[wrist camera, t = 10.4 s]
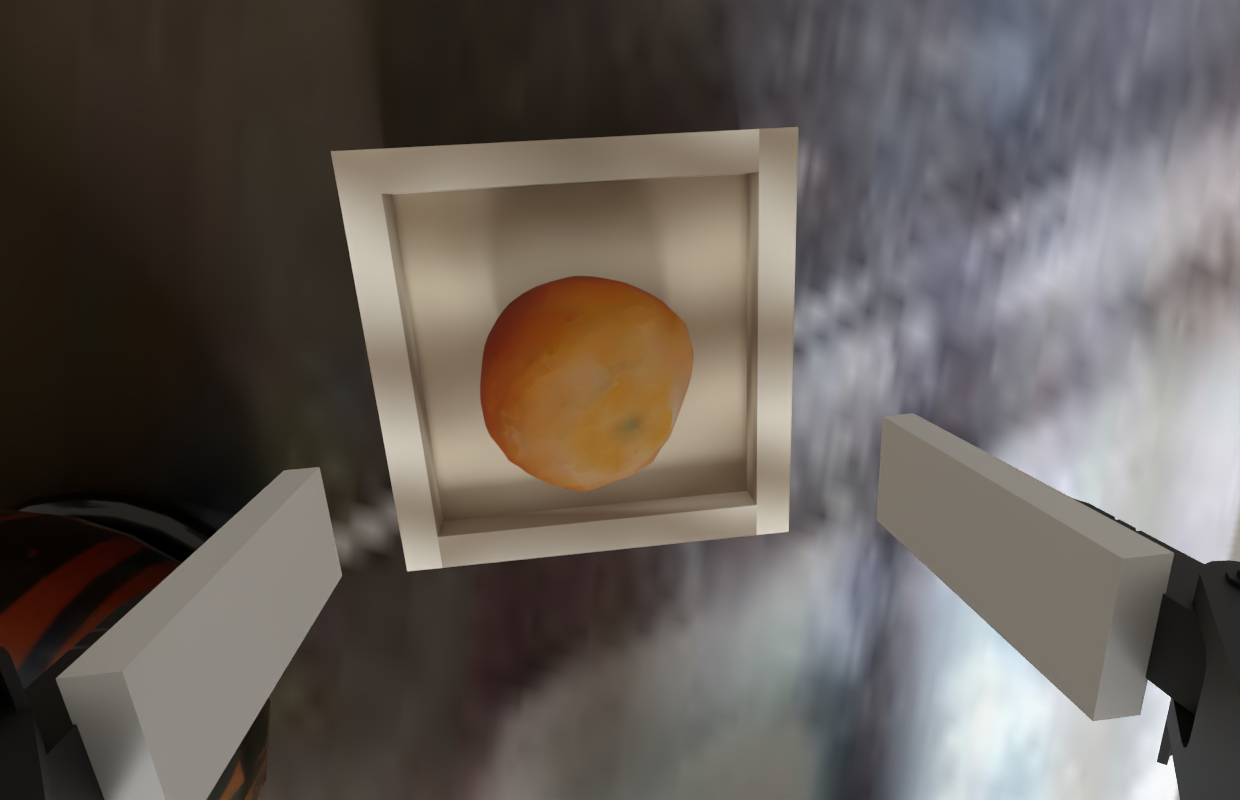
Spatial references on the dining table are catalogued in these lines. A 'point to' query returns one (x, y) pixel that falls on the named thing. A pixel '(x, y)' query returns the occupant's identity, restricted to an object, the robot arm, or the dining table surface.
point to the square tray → (559, 248)
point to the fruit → (584, 380)
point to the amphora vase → (99, 587)
